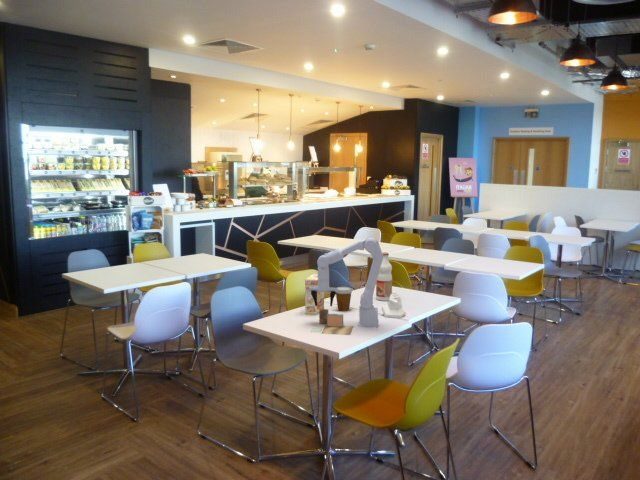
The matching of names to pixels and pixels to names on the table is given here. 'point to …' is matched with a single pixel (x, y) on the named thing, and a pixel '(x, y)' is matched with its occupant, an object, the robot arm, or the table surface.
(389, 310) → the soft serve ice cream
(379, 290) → the fruit juice
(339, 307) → the disposable coffee cup
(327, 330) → the mat
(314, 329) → the block
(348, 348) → the table surface
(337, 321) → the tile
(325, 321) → the block
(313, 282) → the coffeecake box
